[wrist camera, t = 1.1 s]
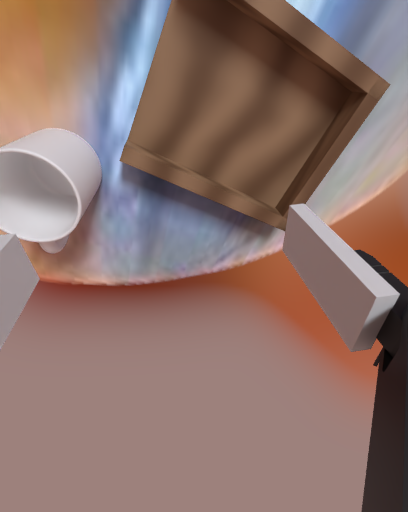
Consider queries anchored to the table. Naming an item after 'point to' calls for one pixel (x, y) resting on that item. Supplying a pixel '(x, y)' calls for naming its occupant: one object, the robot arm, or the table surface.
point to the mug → (46, 186)
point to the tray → (248, 105)
